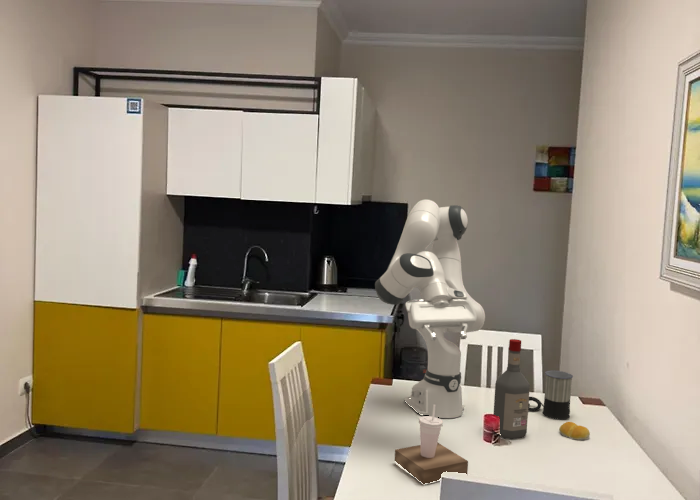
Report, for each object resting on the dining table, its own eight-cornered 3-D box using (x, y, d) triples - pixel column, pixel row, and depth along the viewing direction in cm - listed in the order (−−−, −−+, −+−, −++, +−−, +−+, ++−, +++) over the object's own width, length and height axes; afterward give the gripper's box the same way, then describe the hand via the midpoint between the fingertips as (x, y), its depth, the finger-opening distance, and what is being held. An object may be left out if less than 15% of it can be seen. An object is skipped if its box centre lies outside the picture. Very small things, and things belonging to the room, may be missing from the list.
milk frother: (573, 421, 211) (576, 378, 210) (526, 418, 212) (529, 375, 211) (561, 407, 226) (564, 367, 224) (517, 405, 226) (520, 364, 225)
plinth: (394, 463, 171) (395, 449, 171) (436, 455, 178) (436, 442, 177) (423, 485, 159) (424, 469, 158) (467, 475, 165) (468, 461, 165)
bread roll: (581, 443, 192) (582, 430, 192) (555, 434, 199) (556, 422, 199) (594, 437, 198) (595, 425, 197) (568, 428, 204) (569, 417, 204)
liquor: (530, 437, 195) (536, 343, 192) (506, 440, 191) (512, 344, 189) (512, 427, 203) (518, 336, 201) (488, 430, 200) (494, 337, 197)
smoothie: (433, 462, 163) (438, 410, 162) (411, 455, 167) (416, 404, 165) (443, 454, 169) (448, 404, 167) (422, 447, 172) (427, 398, 171)
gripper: (406, 293, 182) (417, 334, 173) (471, 292, 187) (484, 331, 178) (401, 306, 187) (411, 346, 178) (464, 304, 191) (477, 343, 183)
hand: (448, 338), depth 178 cm, fingers open, 8 cm apart
